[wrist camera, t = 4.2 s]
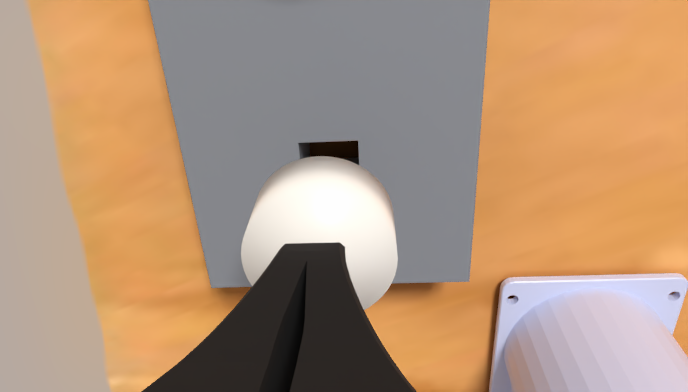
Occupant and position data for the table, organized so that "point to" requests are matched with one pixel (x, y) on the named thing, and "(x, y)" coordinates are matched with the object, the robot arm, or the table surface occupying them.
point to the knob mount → (330, 112)
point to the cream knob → (326, 221)
